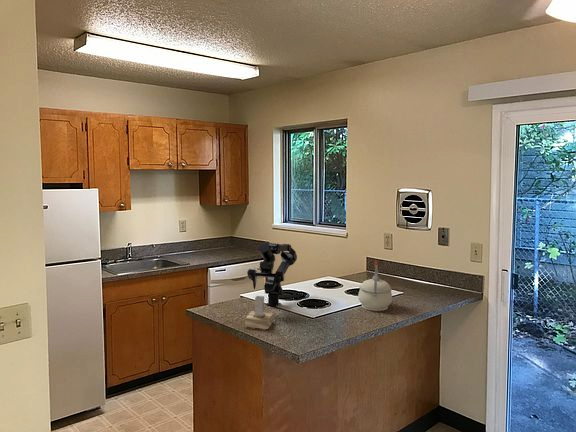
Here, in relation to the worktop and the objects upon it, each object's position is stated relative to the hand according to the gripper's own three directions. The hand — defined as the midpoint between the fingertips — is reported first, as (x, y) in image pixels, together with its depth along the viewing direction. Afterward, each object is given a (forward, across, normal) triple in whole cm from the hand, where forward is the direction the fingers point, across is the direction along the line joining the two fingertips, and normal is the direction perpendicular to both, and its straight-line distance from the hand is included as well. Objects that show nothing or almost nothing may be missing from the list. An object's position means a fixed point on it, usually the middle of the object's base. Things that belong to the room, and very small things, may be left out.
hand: (263, 289), depth 237 cm
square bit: (+19, +2, -1) cm, 19 cm away
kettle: (-12, +56, +32) cm, 66 cm away
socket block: (+19, +2, 0) cm, 19 cm away
